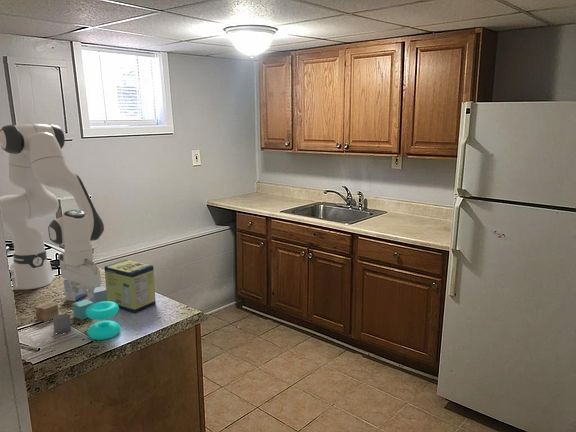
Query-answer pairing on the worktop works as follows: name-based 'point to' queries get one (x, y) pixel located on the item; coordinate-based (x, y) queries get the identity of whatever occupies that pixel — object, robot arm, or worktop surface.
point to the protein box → (130, 285)
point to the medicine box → (72, 295)
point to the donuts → (103, 327)
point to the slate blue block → (99, 295)
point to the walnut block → (46, 311)
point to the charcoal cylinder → (62, 323)
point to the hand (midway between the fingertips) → (82, 294)
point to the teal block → (81, 309)
